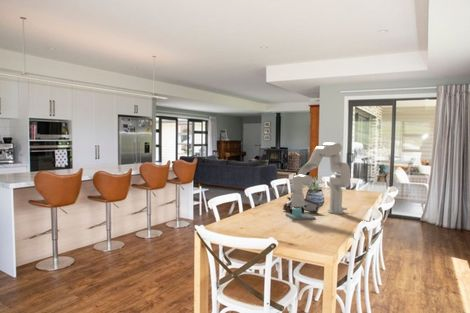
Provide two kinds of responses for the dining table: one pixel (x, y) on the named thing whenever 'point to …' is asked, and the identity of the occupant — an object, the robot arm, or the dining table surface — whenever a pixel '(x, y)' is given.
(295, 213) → the teal rectangular block
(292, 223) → the dining table surface
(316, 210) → the gun
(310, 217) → the board
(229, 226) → the dining table surface
